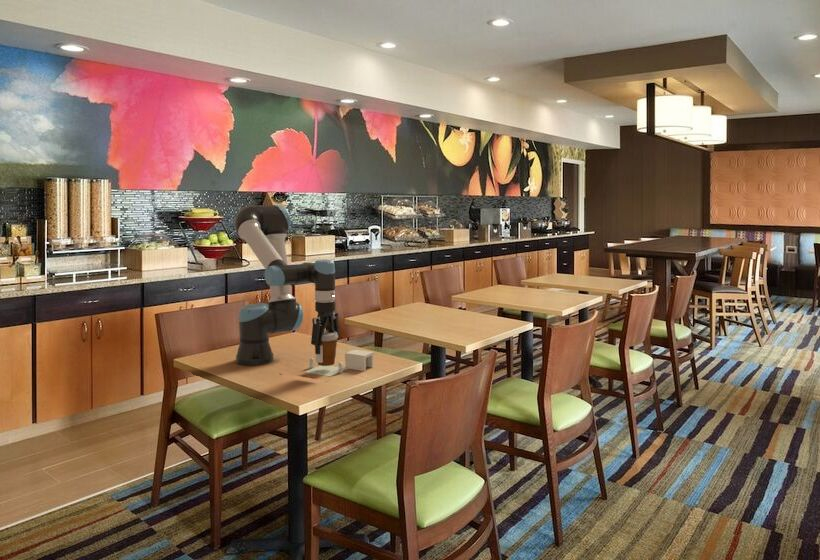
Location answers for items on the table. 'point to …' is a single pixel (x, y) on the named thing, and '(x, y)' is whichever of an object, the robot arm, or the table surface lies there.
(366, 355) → the block
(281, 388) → the table surface
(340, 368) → the board
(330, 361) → the disposable coffee cup
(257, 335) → the robot arm
